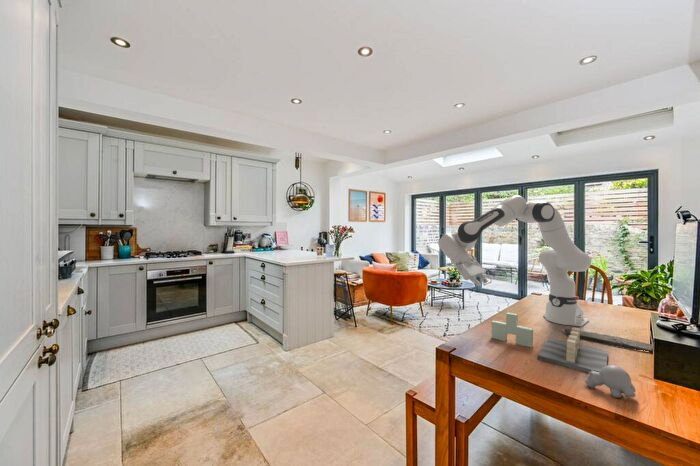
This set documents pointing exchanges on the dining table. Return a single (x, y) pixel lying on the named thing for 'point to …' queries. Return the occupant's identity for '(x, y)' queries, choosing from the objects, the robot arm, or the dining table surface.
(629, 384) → the chubby cartoon animal
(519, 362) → the dining table surface
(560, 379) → the dining table surface
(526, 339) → the sage slotted plate
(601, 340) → the stone slab
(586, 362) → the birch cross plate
